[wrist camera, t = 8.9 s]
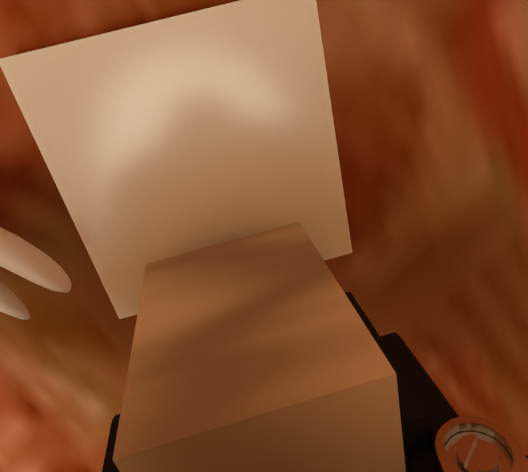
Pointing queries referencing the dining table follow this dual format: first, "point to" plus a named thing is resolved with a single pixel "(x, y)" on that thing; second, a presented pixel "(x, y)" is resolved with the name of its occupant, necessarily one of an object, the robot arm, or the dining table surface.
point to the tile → (188, 135)
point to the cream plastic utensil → (27, 272)
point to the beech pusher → (255, 367)
